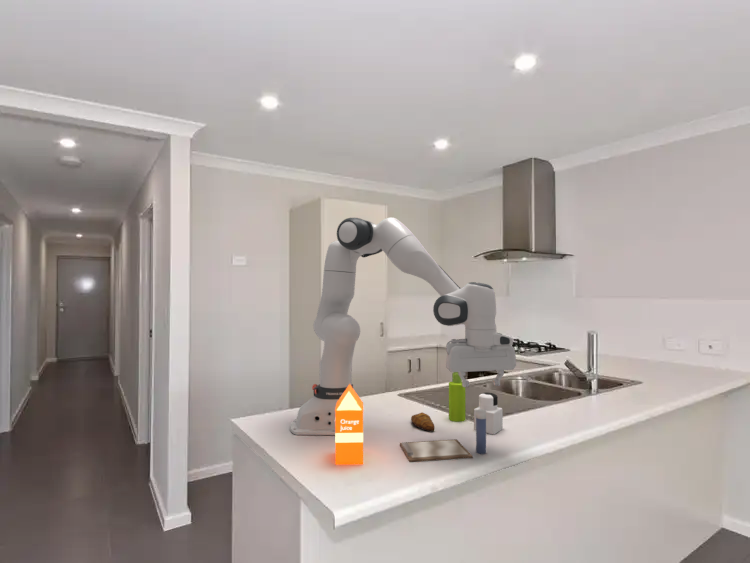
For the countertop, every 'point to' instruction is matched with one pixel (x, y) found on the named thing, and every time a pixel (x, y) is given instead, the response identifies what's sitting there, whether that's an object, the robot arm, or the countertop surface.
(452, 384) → the soap dispenser
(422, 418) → the croissant
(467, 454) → the metal serving tray
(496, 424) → the medicine bottle
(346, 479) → the countertop surface
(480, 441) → the marker
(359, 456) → the orange juice
